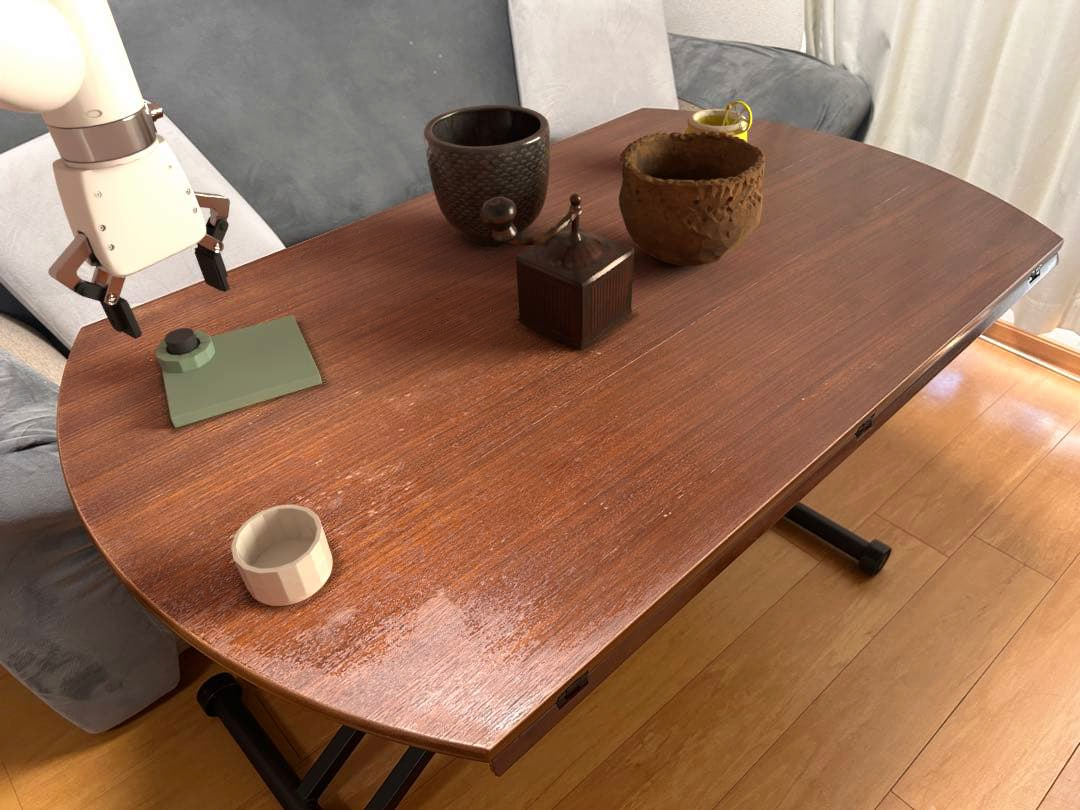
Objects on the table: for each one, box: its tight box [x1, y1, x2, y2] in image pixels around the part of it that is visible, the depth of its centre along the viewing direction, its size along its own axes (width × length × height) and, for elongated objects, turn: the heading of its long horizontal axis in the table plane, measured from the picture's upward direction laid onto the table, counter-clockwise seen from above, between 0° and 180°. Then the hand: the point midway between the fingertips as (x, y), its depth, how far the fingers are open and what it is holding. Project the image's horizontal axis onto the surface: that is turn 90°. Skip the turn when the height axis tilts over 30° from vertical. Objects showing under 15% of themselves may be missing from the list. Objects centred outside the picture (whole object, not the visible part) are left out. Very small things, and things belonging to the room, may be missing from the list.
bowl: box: [618, 131, 766, 267], centre depth 101 cm, size 19×19×15 cm
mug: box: [684, 100, 753, 142], centre depth 125 cm, size 13×11×12 cm
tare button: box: [164, 327, 198, 355], centre depth 87 cm, size 3×3×2 cm
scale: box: [154, 314, 323, 429], centre depth 87 cm, size 16×14×3 cm
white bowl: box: [230, 503, 334, 607], centre depth 64 cm, size 7×7×4 cm
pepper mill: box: [480, 192, 635, 351], centre depth 88 cm, size 16×11×18 cm
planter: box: [423, 104, 551, 247], centre depth 108 cm, size 17×17×16 cm
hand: (176, 309), depth 74 cm, fingers open, 9 cm apart
